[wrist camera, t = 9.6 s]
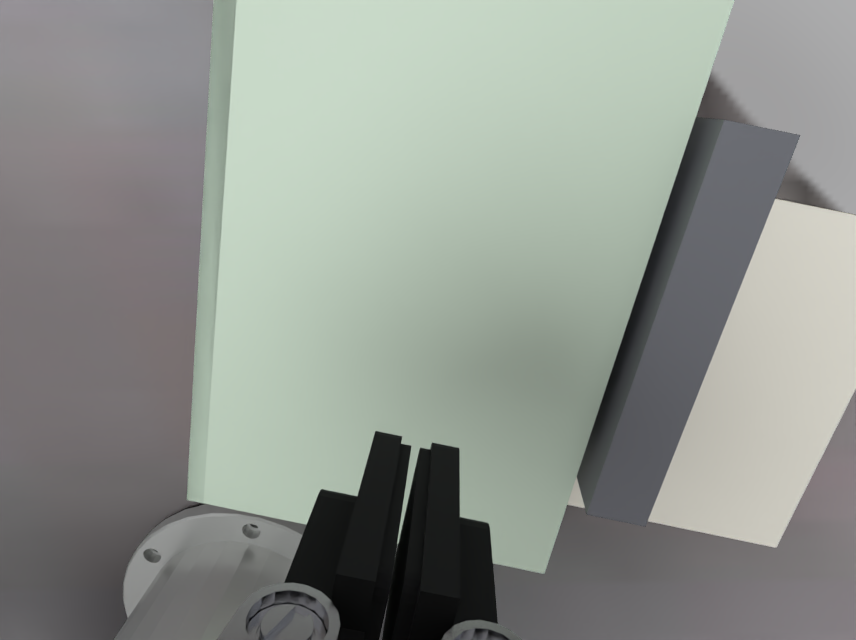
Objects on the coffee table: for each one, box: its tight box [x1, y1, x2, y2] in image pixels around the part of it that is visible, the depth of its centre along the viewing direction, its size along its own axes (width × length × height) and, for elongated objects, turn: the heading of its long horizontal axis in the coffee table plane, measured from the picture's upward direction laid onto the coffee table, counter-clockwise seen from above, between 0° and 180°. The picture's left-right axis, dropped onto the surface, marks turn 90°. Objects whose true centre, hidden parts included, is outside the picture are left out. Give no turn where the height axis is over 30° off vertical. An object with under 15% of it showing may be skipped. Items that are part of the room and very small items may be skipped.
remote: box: [577, 117, 800, 527], centre depth 22 cm, size 14×5×2 cm
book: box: [187, 0, 735, 574], centre depth 23 cm, size 22×15×4 cm
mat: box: [567, 198, 856, 548], centre depth 25 cm, size 15×10×1 cm
